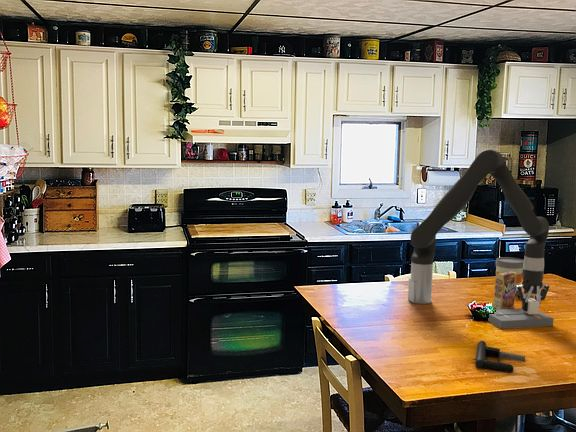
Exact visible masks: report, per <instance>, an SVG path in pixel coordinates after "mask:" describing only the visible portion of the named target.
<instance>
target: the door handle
mask: <svg viewBox="0 0 576 432" xmlns="http://www.w3.org/2000/svg"><path fill="white" fill-rule="evenodd" d="M474 345H475V346H477V347H476V353H475V358H473V361H474V360H475V362H473V361H472V363H474V365H475V366H476V368H478V369H487V370H492V371H493V370H494V371H497V372H505V373H509V374H510V373H511V374H512V373H513V372H514V369H515V368H514V366H513V365H512V364H511V363H510V364H509V363H504V362H500V359H504V360H510V361H511V360H512V361H520V362H525V361H526V356H525V355H521V354H517V353H512V352H506V351H501V348H497V347H493V346H492V347H491V346H487V343H486V341H485V340H480V341H479V342H478V343H476V344H474ZM486 358H493V359H497V361H495V360H488V359H486Z"/></svg>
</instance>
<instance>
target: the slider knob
mask: <svg viewBox="0 0 576 432" xmlns="http://www.w3.org/2000/svg"><path fill="white" fill-rule="evenodd" d="M539 303H540V304H541V301H537V300H535V299H534V297H533V298H532V297H529V299H528V311H526V313H528V314H539V311H540V306H539ZM522 311H523V309H522ZM524 312H525V311H524Z"/></svg>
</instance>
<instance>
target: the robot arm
mask: <svg viewBox="0 0 576 432" xmlns="http://www.w3.org/2000/svg"><path fill="white" fill-rule="evenodd" d="M505 160H506V159H505V158H504V157H503V155H502V154H501V153H500V152H499V151H497V150H494V149H492V148H489V149H487V148H486V149H484V150H482V151H480V152H479V153H478V154H477V155H476V157H475V158H474V160H473V161H472V163H471V164H470V165H469V166H468V168H467V170H466V171H465V172H464V173H463V175H461V176H460V177H459V179H458V180H457V181H456V182H455V183H454V184H453V185H452V187H451V188H449V190H448V191H447V192H446V193H445V194H444V195H443V196H442V198H441V199H440V200H439V202H437V204H436V205H435V207H434V208H433V209H432V211H431V212H430V213H429V215H428V216H427V217H426V218H425V219H424V220H423V221H422V222H421V223H420V224H419V225H418V226H416V227H415V228H414V229H413V230H412V232H411V234H410V243H411V245H412V246H413V252H412V255H411V258H410V260H411V261H410V262H411V264H410V265H411V266H410V278H408V287H407V288H408V289H407V290H408V291H407V292H408V293H407V300H408V301H410V302H411V303H413V304H422V305H425V304H426V305H427V304H431V302H432V299H433V298H432V297H433V296H432V293H433V270H434V257H435V255H436V254H435V253H436V245H437V244H436V242H437V237H436V235H437V234H438V233H439V231H440V230H441V229H442V228H443V227H444V226H445V225H446V224H448V223H449V222H450V221H452V220H453V219H454V218H455V217H456V216H457V215H458V214H459V213H461V212H462V210H463V209H464V208H465V207H466V206H467V205H468V203H469V202H470V201H471V199H472V197H473V195H474V193H475V191H476V189H477V187H478V186H479V185H480V183H481V182H482V181H483V180H484V179H485V178H486V177H487V176H488V175H489V174H490V176H491V177H492V178H493V179H494V180H495V181H496V183H497V184H498V185H499V187H500V189H501V191H502V193H503V195H504V197H505V200H506V201H507V203H508V205H509V206H510V207H511V208H512V210H513V212H514V213H515V215H516V216H517V218H518V221H519V224H520V225H521V227H522V229H523V231H524V232H525V233H526V234H527V235H528V236H529V239H528V241H526V243H525V245H524V246H525V247H524V256H523V257H524V258H523V261H524V262H523V271H522V272H523V276H522V281H521V283H520V285H519V286H517V285H516V286H515V290H516V294H515V295H516V297H517V300H519V301H521V302H522V303H521V308H522V309H523V311H525V312H526V311H528V299H529V298H531V295H532V296H533V299H535V300H537V301H540V303H539V307H540V304H541V302H542V301H545V299H546V296H547V294H548V291H549V289H550V286H549V285H548V284H545V283H543V280H544V273H545V272H544V271H545V251H546V249H545V246H546V243H547V239H548V236H549V232H550V224H549V221H548V220H547V218H545V217H543V216H536V213H535V212H534V205H533V203H532V202H531V200H530V198H529V197H528V196H527V194H526V193H525V192H524V190H523V189H522V188H521V187H520V185H519V184H518V182H517V181H516V179H515V178H514V176H513V174H512V172H511V171H510V169H509V167H508V164H507V163H506V161H505Z"/></svg>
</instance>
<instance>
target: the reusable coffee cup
mask: <svg viewBox="0 0 576 432" xmlns="http://www.w3.org/2000/svg"><path fill="white" fill-rule="evenodd" d="M523 262H524V259H521V258H517V257H509V256H507V257H505V256H504V257H503V256H502V257H497V258H496V259H495V263H494V265H495V268H496V270H495V274H496V273H502V272H508V271H511V272H515V273H517V276H516V285H517V286H519V285H521V284H522V281H523V278H522V276H523ZM515 295H517V294H516V290H515Z"/></svg>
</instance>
